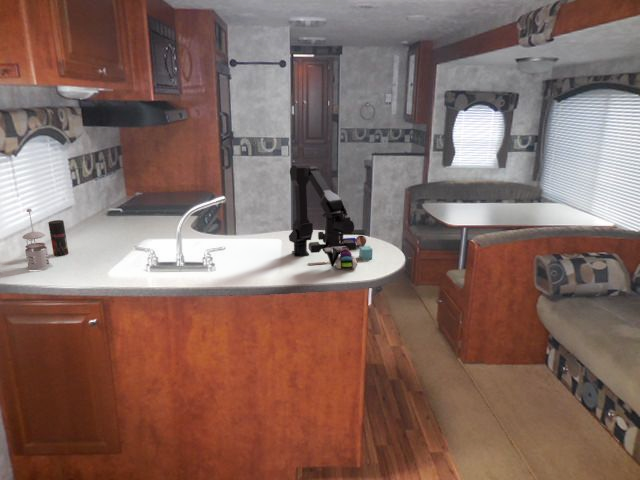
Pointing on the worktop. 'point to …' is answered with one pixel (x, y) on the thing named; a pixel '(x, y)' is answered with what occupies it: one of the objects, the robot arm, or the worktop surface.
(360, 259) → the brown segmented strip
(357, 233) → the figurine character
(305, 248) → the robot arm
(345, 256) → the multicolored white-lobed toy
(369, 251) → the teal cube
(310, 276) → the worktop surface
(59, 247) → the deodorant
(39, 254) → the french press
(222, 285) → the worktop surface
